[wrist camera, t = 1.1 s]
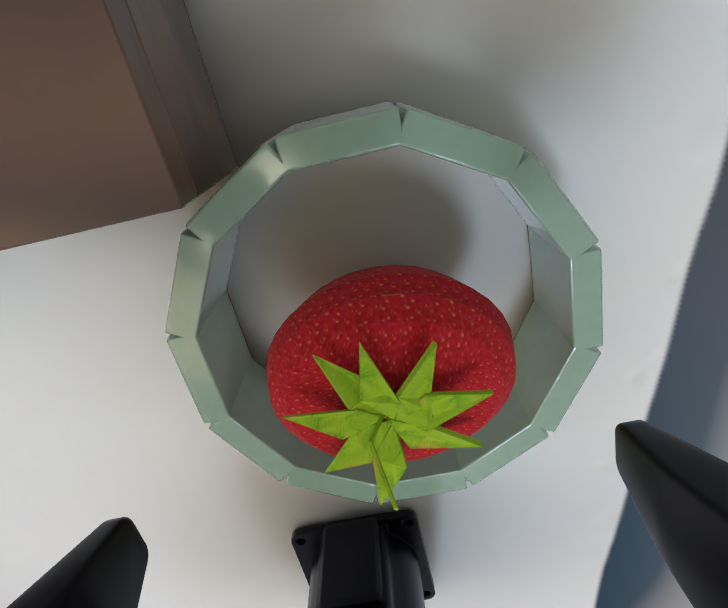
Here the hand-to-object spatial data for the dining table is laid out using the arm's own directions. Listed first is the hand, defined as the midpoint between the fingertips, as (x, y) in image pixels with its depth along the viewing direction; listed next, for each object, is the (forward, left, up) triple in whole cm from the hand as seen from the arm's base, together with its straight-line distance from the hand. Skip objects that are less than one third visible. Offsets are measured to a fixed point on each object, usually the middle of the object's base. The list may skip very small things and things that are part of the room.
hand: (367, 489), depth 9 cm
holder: (-1, -1, -11) cm, 11 cm away
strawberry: (-1, -1, -12) cm, 12 cm away
